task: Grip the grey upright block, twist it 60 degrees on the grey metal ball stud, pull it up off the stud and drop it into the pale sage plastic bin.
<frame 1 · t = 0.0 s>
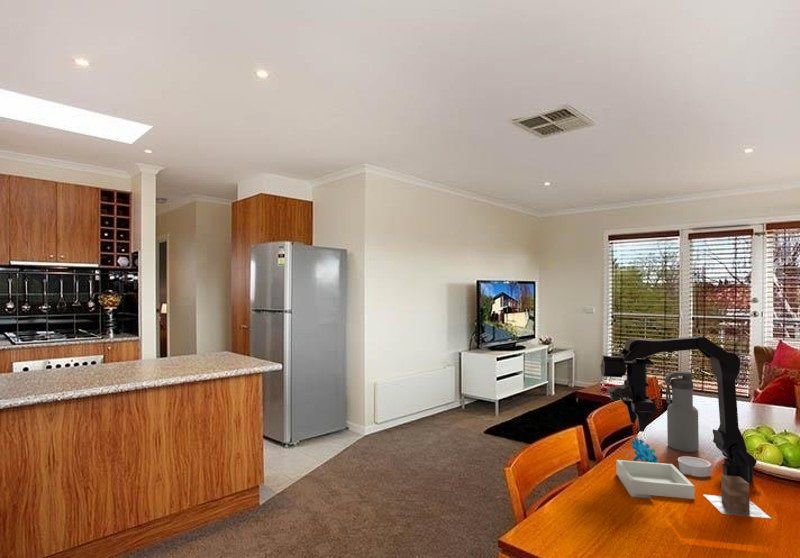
hand: (637, 427, 143), 15 cm above the table, fingers open, 9 cm apart
ramekin: (694, 475, 142), on the table
blue coral: (645, 463, 151), on the table
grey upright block: (735, 505, 119), point 1 cm above the table, touching stud plate
water bottle: (682, 448, 166), on the table
stud plate: (735, 509, 119), on the table
bin: (652, 487, 133), on the table
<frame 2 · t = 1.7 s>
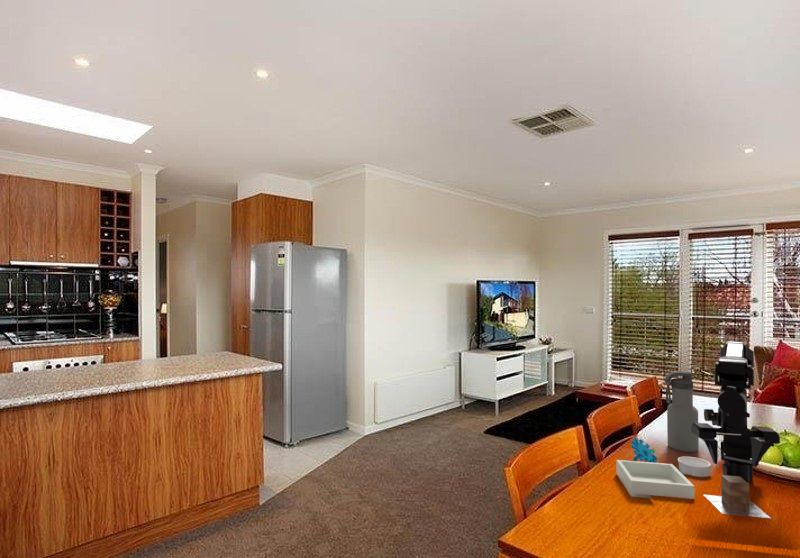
hand: (734, 465, 120), 12 cm above the table, fingers open, 9 cm apart
nothing on the table moved.
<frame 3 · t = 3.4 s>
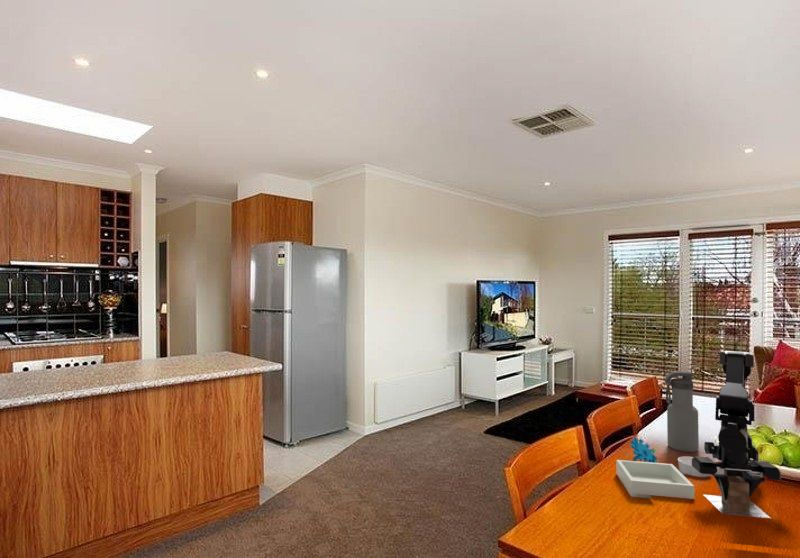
hand: (735, 499, 119), 3 cm above the table, fingers closed on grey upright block, 4 cm apart
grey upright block: (735, 505, 119), point 1 cm above the table, touching gripper, stud plate
everything else where it was.
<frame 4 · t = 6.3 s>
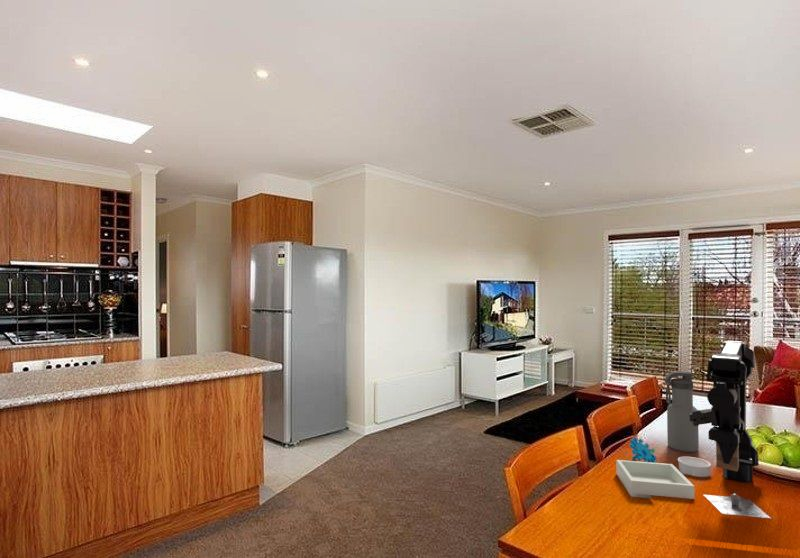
hand: (727, 460, 121), 12 cm above the table, fingers closed on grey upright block, 4 cm apart
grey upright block: (727, 466, 121), point 11 cm above the table, touching gripper
everything else where it was.
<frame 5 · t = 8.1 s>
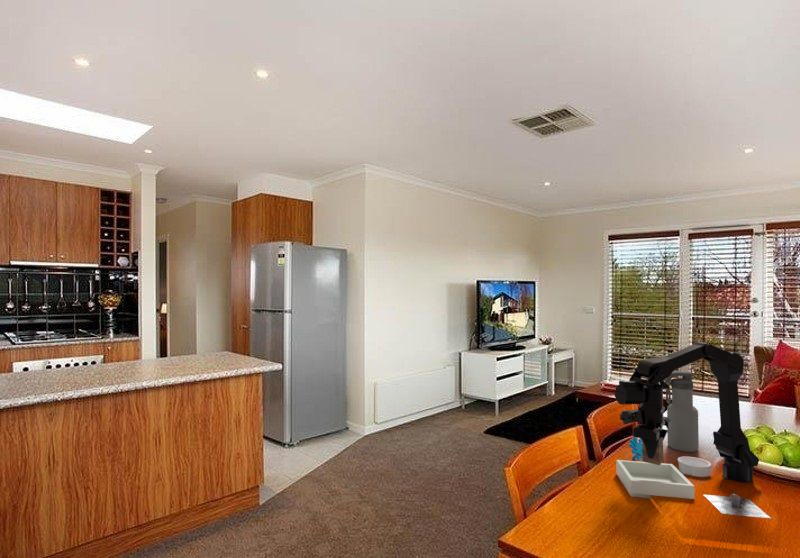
hand: (652, 456, 133), 9 cm above the table, fingers closed on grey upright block, 4 cm apart
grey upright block: (652, 461, 133), point 8 cm above the table, touching gripper
everything else where it was.
when the fingers open (4 cm above the table, at t = 9.3 s): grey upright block drops 1 cm, resting on bin.
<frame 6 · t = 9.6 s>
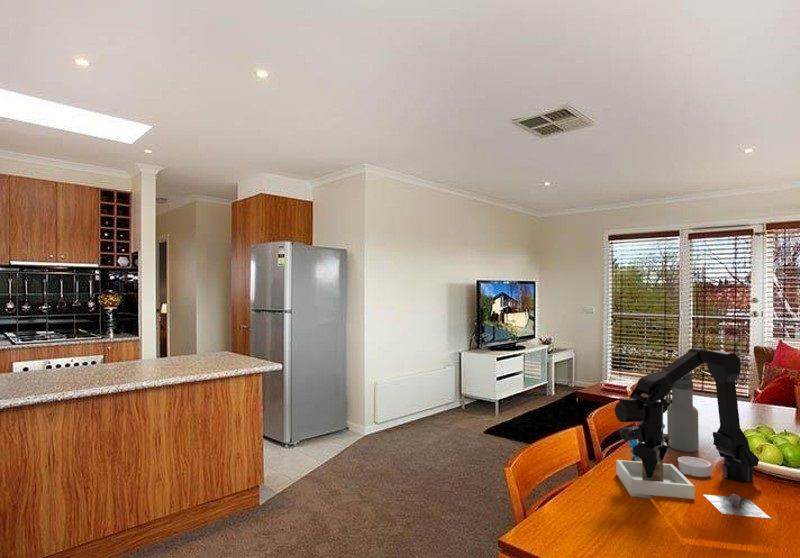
hand: (652, 473, 133), 4 cm above the table, fingers open, 7 cm apart
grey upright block: (652, 483, 133), point 1 cm above the table, touching bin
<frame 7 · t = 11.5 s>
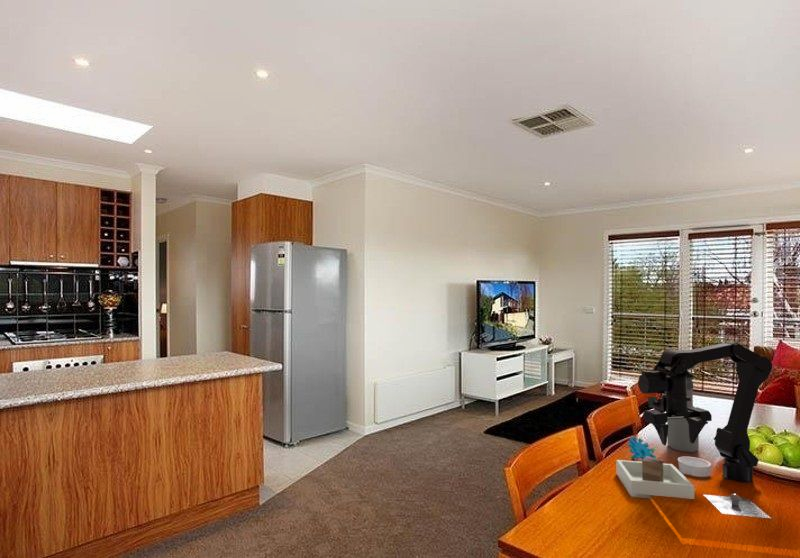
hand: (678, 444, 136), 12 cm above the table, fingers open, 9 cm apart
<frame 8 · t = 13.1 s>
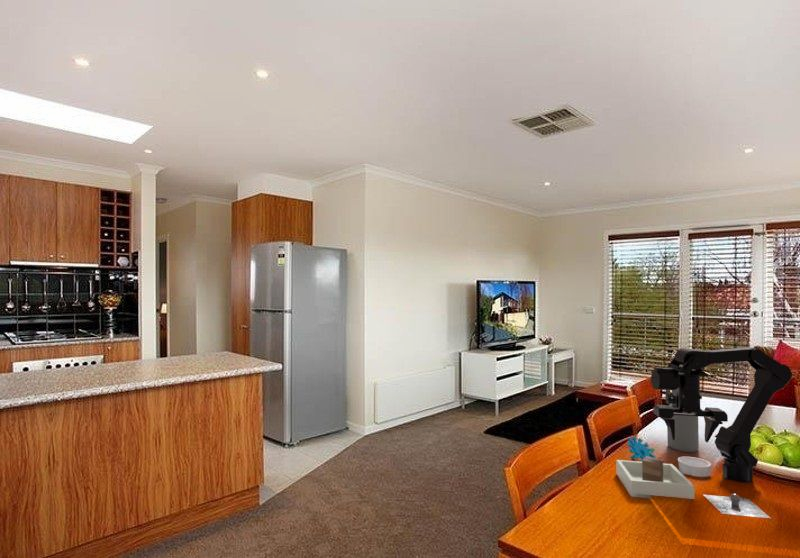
hand: (689, 440, 138), 12 cm above the table, fingers open, 9 cm apart
at the end: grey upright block inside the target area on the bin (0.1 cm from its centre), point 1.0 cm above the bin's base; the gripper is holding nothing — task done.
